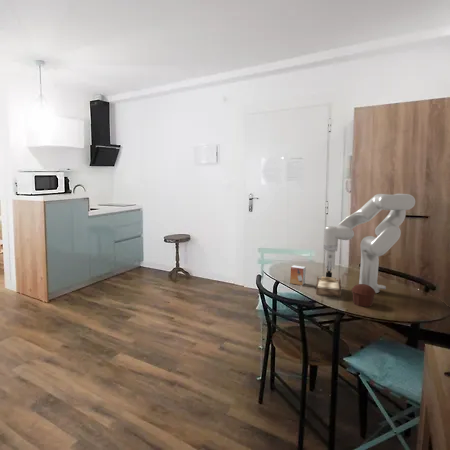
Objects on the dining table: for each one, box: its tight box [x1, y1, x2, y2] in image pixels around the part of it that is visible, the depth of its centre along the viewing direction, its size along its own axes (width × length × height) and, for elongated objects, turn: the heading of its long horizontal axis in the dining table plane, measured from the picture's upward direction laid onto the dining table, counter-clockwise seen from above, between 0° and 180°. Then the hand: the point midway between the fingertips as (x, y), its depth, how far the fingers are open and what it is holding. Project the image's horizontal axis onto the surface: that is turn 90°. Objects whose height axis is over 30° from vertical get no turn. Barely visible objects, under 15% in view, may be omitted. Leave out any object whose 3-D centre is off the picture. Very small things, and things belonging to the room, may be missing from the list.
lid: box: [318, 276, 339, 290], centre depth 193 cm, size 11×14×3 cm
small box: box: [289, 264, 307, 286], centre depth 212 cm, size 8×6×10 cm
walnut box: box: [315, 275, 342, 298], centre depth 198 cm, size 13×16×6 cm
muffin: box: [351, 283, 377, 308], centre depth 179 cm, size 12×11×10 cm
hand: (328, 279), depth 201 cm, fingers closed
